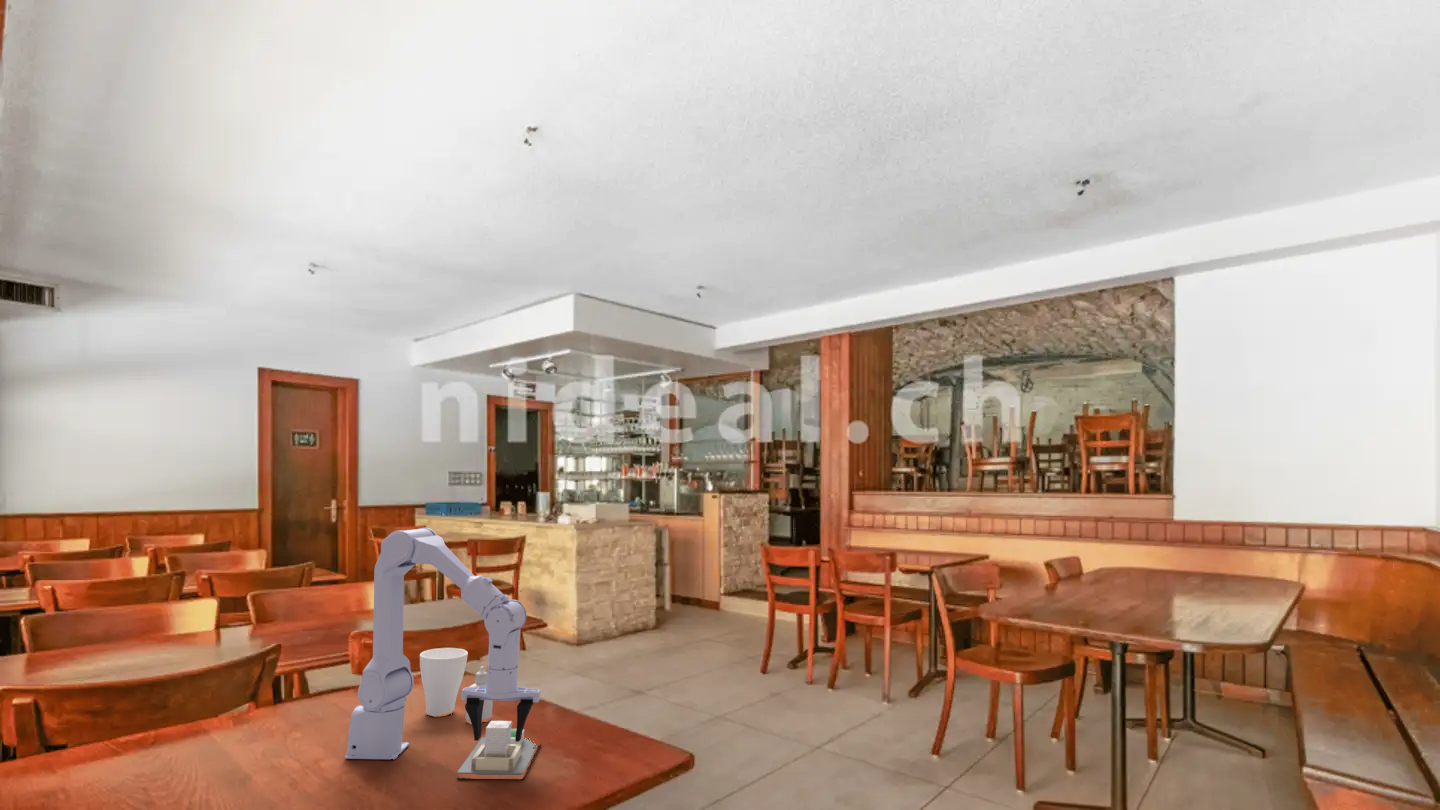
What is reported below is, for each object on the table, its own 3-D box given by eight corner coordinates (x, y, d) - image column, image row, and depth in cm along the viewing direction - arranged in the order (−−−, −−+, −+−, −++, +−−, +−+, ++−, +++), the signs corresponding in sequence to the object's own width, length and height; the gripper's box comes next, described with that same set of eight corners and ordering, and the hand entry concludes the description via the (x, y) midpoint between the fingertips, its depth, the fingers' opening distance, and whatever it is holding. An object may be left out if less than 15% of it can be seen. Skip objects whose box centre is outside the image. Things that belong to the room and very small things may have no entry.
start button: (497, 746, 149) (498, 733, 150) (501, 740, 153) (501, 728, 153) (513, 746, 150) (514, 734, 150) (516, 740, 153) (517, 728, 153)
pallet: (456, 779, 137) (458, 759, 137) (481, 743, 155) (482, 726, 155) (523, 780, 137) (524, 761, 138) (540, 744, 155) (541, 727, 156)
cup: (405, 715, 170) (409, 654, 171) (441, 703, 179) (445, 645, 180) (437, 724, 165) (442, 661, 166) (473, 711, 174) (477, 652, 175)
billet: (483, 766, 140) (485, 727, 141) (488, 758, 144) (490, 720, 145) (505, 766, 140) (507, 728, 141) (509, 758, 144) (511, 721, 145)
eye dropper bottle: (468, 718, 169) (471, 663, 170) (493, 718, 170) (496, 664, 171) (463, 724, 165) (466, 669, 166) (488, 725, 165) (492, 669, 166)
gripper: (544, 661, 148) (540, 732, 147) (470, 659, 147) (465, 731, 146) (538, 671, 141) (533, 746, 140) (460, 669, 140) (454, 744, 139)
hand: (498, 739), depth 143 cm, fingers open, 7 cm apart
